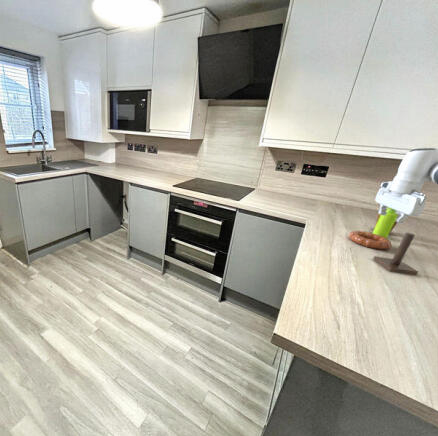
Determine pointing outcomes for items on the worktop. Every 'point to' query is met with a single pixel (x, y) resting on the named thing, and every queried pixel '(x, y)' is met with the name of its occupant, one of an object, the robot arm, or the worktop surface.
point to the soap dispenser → (385, 223)
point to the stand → (398, 258)
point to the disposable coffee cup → (394, 222)
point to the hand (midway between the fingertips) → (389, 218)
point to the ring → (370, 240)
